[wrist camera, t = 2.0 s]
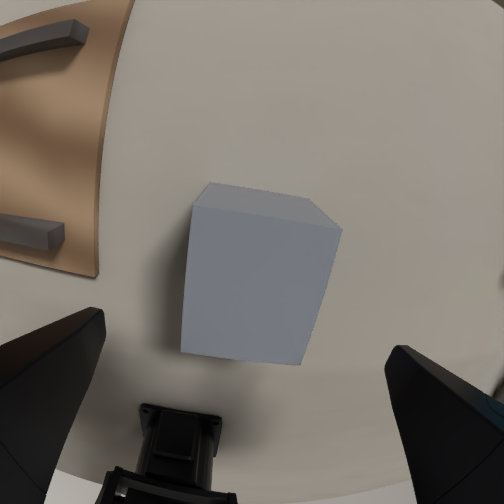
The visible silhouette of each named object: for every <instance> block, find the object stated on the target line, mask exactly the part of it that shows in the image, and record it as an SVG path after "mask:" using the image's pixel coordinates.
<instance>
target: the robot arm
mask: <svg viewBox="0 0 504 504" xmlns="http://www.w3.org/2000/svg"><path fill="white" fill-rule="evenodd" d="M105 338H106V327H105V317H104V312H103V310H102V309H99V308H95V307H88V308H86V309H84V310H81V311H79V312H76V313H74V314H72V315H69V316H67V317H65V318H62V319H60V320H58V321H55V322H53V323H51V324H49V325H46V326H44V327H42V328H39V329H37V330H35V331H32V332H30V333H28V334H25V335H23V336H21V337H19V338H16V339H14V340H12V341H9V342H7V343H5V344H3V345H1V346H0V504H44V501H45V498H46V495H45V494H47V491H48V488H49V485H50V482H51V479H52V476H53V473H54V470H55V468H56V465H57V462H58V459H59V457H60V454H61V451H62V449H63V446H64V443H65V441H66V438H67V436H68V433H69V431H70V428H71V426H72V424H73V421H74V419H75V416H76V414H77V412H78V409H79V407H80V405H81V402H82V400H83V398H84V396H85V393H86V391H87V389H88V387H89V385H90V382H91V380H92V377H93V374H94V371H95V368H96V365H97V362H98V359H99V356H100V353H101V350H102V347H103V344H104V342H105ZM384 370H385V376H386V380H387V385H388V390H389V395H390V400H391V404H392V409H393V412H394V416H395V419H396V423H397V426H398V429H399V433H400V436H401V440H402V444H403V447H404V451H405V455H406V459H407V462H408V466H409V470H410V474H411V479H412V482H413V487H414V491H415V495H416V501H417V504H504V404H502V403H500V402H499V401H497V400H495V399H494V398H492V397H490V396H489V395H487V394H485V393H483V392H482V391H481V390H479V389H477V388H476V387H474V386H472V385H471V384H469V383H468V382H466V381H464V380H463V379H461V378H459V377H458V376H456V375H455V374H453V373H451V372H450V371H448V370H446V369H445V368H443V367H442V366H440V365H438V364H437V363H435V362H433V361H432V360H430V359H429V358H427V357H425V356H424V355H422V354H420V353H419V352H417V351H416V350H414V349H412V348H411V347H409V346H407V345H396V346H395V347H394V348H393V350H392V352H391V354H390V356H389V358H388V360H387V362H386V364H385V368H384ZM139 411H140V417H141V424H142V430H143V436H144V439H143V443H142V447H141V451H140V455H139V459H138V463H137V467H136V471H135V473H133V472H130V471H127V470H124V469H123V468H121V467H119V466H115V469H114V471H107V473H106V476H105V480H104V483H103V486H102V489H101V491H100V493H99V496H98V498H97V500H96V502H95V504H238V503H237V497H236V493H230V492H228V493H222V492H215V491H211V484H212V467H213V457H216V454H217V449H218V444H219V438H220V433H221V428H222V418H221V417H219V416H214V415H206V414H199V413H192V412H186V411H180V410H174V409H169V408H164V407H158V406H154V405H149V404H141V406H140V410H139ZM121 494H124V495H126V497H122V496H121Z"/></svg>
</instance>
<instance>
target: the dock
mask: <svg viewBox="0 0 504 504" xmlns="http://www.w3.org/2000/svg"><path fill="white" fill-rule="evenodd" d="M134 1H135V0H90V1H85V2H80V3H75V4H70V5H66V6H62V7H58V8H54V9H50V10H47V11H43V12H40V13H37V14H33V15H30V16H27V17H24V18H21V19H18V20H16V21H13V22H10V23H8V24H5V25H2V26H0V255H1V256H5V257H9V258H13V259H17V260H21V261H25V262H29V263H33V264H37V265H41V266H46V267H50V268H54V269H59V270H63V271H68V272H72V273H77V274H82V275H86V276H91V277H96V276H97V275H98V274H99V256H98V213H99V189H100V173H101V161H102V151H103V142H104V134H105V126H106V119H107V113H108V106H109V100H110V95H111V89H112V84H113V79H114V74H115V70H116V65H117V61H118V57H119V52H120V48H121V45H122V41H123V37H124V33H125V30H126V26H127V23H128V20H129V16H130V13H131V10H132V7H133V4H134Z"/></svg>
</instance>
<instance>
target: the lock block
mask: <svg viewBox="0 0 504 504" xmlns="http://www.w3.org/2000/svg"><path fill="white" fill-rule="evenodd" d="M341 233H342V229H341V228H340V227H339V226H338V225H337V224H336V223H335V222H334V221H333V220H332V219H330V218H329V217H328V216H327V215H326V214H325V213H324V212H323V211H322V210H321V209H320V208H318V207H317V206H316V205H315V204H314V203H313V202H312V201H311V200H309V199H307V198H301V197H296V196H291V195H285V194H280V193H274V192H269V191H263V190H257V189H251V188H245V187H238V186H232V185H225V184H219V183H212V182H210V183H209V185H208V186H207V187H206V189H205V190H204V191H203V192H202V194H201V195H200V196H199V198H198V199H197V200H196V202H195V203H194V204H193V209H192V217H191V226H190V235H189V244H188V254H187V265H186V276H185V288H184V301H183V315H182V331H181V351H180V352H185V353H191V354H197V355H204V356H211V357H218V358H226V359H234V360H243V361H252V362H262V363H273V364H286V365H301V362H302V359H303V356H304V353H305V351H306V348H307V345H308V342H309V339H310V336H311V333H312V330H313V327H314V324H315V321H316V318H317V315H318V312H319V309H320V306H321V302H322V299H323V296H324V293H325V289H326V286H327V283H328V279H329V276H330V273H331V269H332V266H333V262H334V259H335V255H336V251H337V248H338V244H339V240H340V237H341Z"/></svg>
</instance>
